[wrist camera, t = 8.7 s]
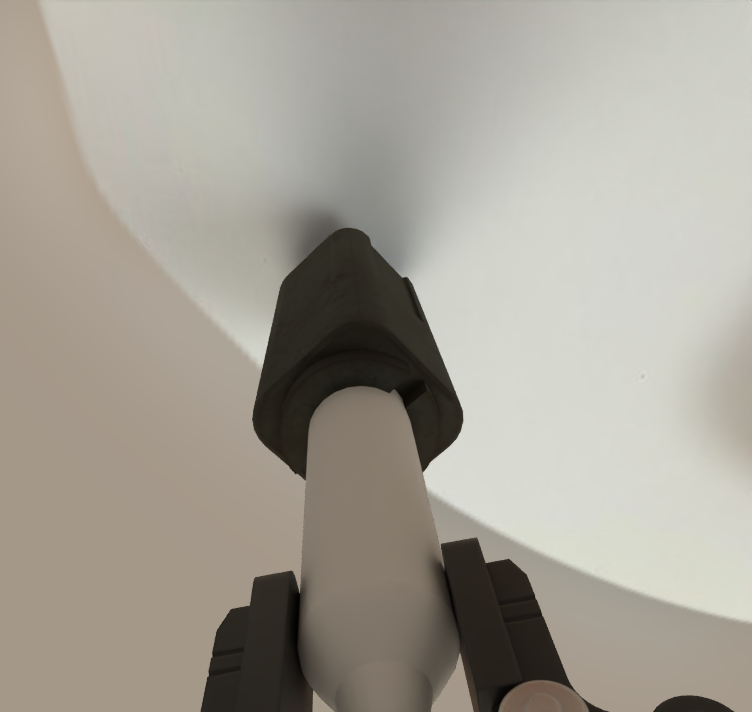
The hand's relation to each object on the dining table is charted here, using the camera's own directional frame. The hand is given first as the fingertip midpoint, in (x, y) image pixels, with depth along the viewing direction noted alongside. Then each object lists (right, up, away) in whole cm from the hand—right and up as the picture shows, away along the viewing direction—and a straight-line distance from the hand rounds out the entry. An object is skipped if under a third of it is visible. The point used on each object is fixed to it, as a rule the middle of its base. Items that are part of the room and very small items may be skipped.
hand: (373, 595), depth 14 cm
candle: (-1, +8, +19) cm, 20 cm away
